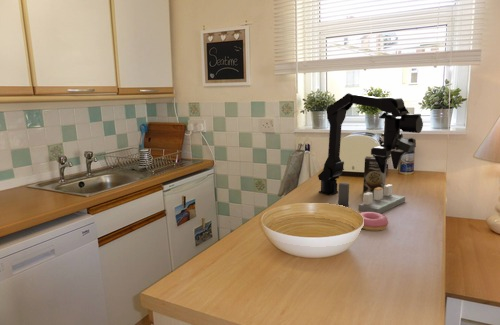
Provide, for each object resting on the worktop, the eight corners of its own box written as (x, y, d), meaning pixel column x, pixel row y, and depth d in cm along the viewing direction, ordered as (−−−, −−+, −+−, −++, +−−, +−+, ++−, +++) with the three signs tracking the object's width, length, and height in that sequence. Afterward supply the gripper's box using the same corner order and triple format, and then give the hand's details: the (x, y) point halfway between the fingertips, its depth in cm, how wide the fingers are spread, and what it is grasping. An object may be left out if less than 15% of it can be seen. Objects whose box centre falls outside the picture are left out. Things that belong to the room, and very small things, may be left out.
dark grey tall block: (336, 205, 148) (336, 184, 146) (341, 203, 150) (342, 182, 148) (344, 207, 145) (345, 185, 143) (350, 205, 147) (351, 183, 145)
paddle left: (362, 203, 142) (363, 193, 141) (367, 201, 144) (368, 191, 143) (367, 204, 140) (368, 194, 140) (372, 202, 143) (373, 192, 142)
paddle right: (383, 195, 152) (384, 185, 152) (387, 193, 155) (388, 184, 154) (388, 196, 151) (388, 186, 150) (392, 194, 153) (392, 185, 153)
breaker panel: (358, 209, 142) (358, 204, 142) (386, 197, 157) (386, 192, 156) (377, 214, 137) (378, 209, 136) (404, 201, 151) (405, 196, 151)
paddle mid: (373, 199, 147) (374, 188, 146) (378, 197, 150) (378, 187, 149) (378, 200, 146) (378, 189, 145) (382, 198, 148) (383, 187, 147)
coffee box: (362, 194, 162) (364, 158, 159) (363, 190, 168) (365, 155, 165) (384, 196, 159) (386, 159, 155) (385, 192, 164) (387, 157, 161)
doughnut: (388, 234, 119) (389, 222, 118) (353, 230, 122) (353, 218, 122) (387, 222, 129) (388, 211, 128) (355, 219, 133) (355, 208, 132)
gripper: (399, 135, 127) (396, 178, 130) (424, 130, 139) (421, 170, 142) (371, 132, 135) (368, 173, 139) (396, 128, 147) (394, 166, 151)
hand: (389, 170), depth 142 cm, fingers open, 9 cm apart
